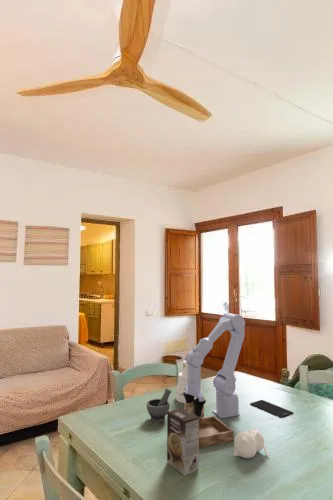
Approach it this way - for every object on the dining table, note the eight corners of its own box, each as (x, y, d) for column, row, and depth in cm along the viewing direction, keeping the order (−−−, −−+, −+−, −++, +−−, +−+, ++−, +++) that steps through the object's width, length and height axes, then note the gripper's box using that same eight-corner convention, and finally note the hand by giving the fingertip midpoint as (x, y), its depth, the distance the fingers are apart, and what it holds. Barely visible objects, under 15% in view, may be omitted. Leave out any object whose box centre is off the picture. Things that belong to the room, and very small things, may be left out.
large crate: (214, 424, 133) (214, 415, 133) (234, 441, 119) (233, 431, 120) (181, 430, 127) (181, 421, 128) (198, 448, 114) (198, 438, 114)
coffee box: (166, 463, 105) (166, 411, 106) (181, 456, 109) (181, 406, 110) (184, 476, 98) (184, 421, 99) (199, 469, 102) (199, 415, 103)
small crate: (198, 415, 142) (198, 401, 142) (204, 420, 137) (204, 405, 137) (184, 418, 139) (184, 403, 140) (189, 422, 134) (189, 408, 135)
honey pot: (171, 400, 159) (171, 362, 161) (183, 392, 170) (183, 357, 172) (194, 405, 152) (194, 366, 154) (206, 397, 163) (205, 360, 165)
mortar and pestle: (152, 426, 131) (153, 395, 132) (142, 418, 139) (143, 389, 140) (176, 420, 136) (176, 391, 137) (165, 412, 144) (165, 385, 145)
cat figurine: (257, 419, 116) (236, 428, 108) (280, 446, 108) (259, 457, 101) (246, 436, 119) (225, 446, 111) (267, 464, 111) (246, 476, 103)
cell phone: (281, 419, 139) (281, 417, 139) (249, 405, 154) (249, 403, 154) (294, 414, 144) (293, 412, 144) (261, 401, 159) (261, 399, 159)
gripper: (178, 376, 145) (178, 407, 143) (193, 386, 131) (193, 421, 130) (192, 374, 147) (192, 405, 146) (208, 384, 134) (208, 418, 133)
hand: (194, 413), depth 138 cm, fingers open, 7 cm apart
